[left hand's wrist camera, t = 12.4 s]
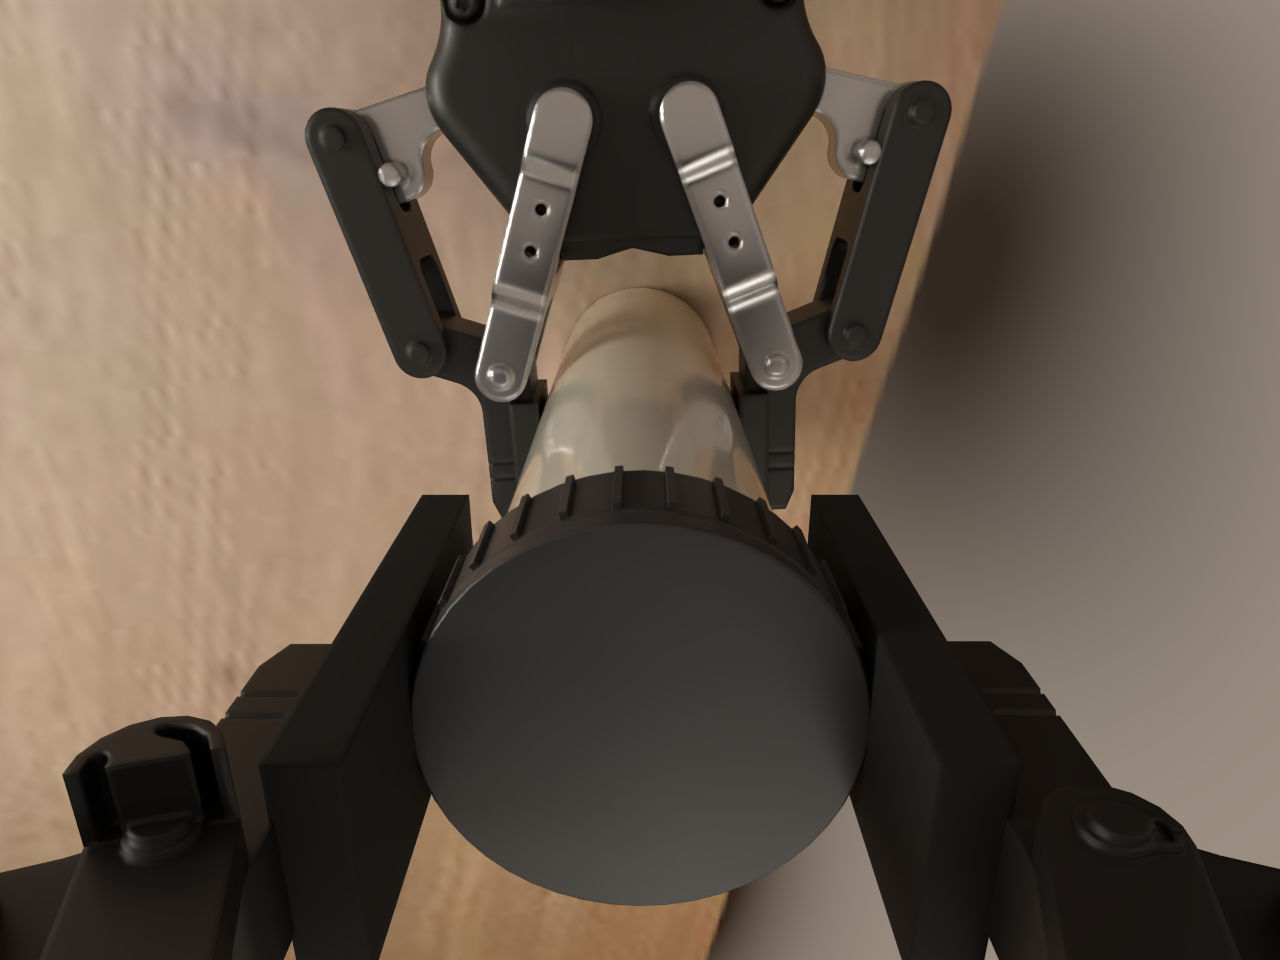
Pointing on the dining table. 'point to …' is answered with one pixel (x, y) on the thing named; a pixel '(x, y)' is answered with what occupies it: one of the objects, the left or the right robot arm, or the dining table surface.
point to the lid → (640, 690)
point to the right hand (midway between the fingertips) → (645, 521)
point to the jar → (640, 400)
